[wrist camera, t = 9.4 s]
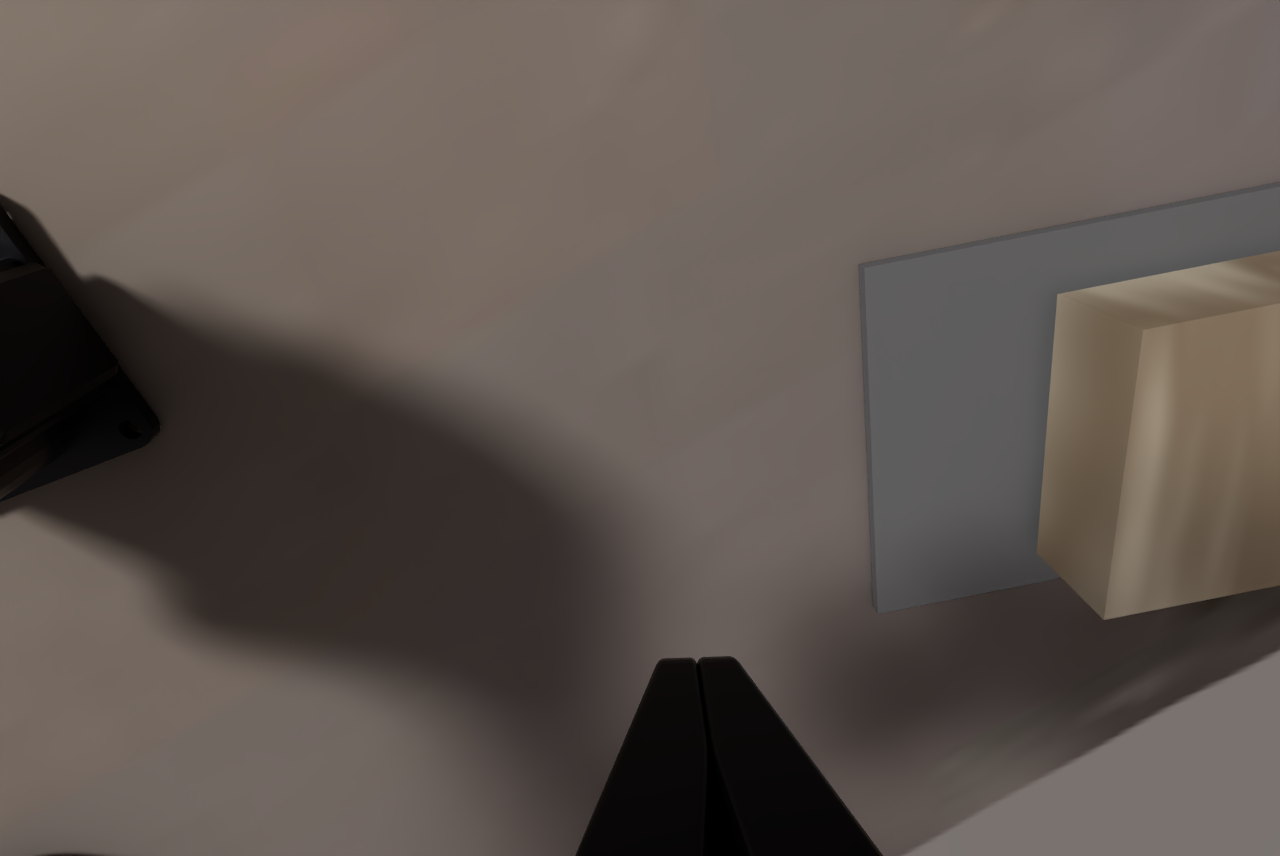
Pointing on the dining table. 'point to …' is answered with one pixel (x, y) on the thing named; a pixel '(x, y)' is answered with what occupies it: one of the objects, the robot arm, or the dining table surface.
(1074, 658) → the dining table surface
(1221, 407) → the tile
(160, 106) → the dining table surface
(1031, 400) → the mat
